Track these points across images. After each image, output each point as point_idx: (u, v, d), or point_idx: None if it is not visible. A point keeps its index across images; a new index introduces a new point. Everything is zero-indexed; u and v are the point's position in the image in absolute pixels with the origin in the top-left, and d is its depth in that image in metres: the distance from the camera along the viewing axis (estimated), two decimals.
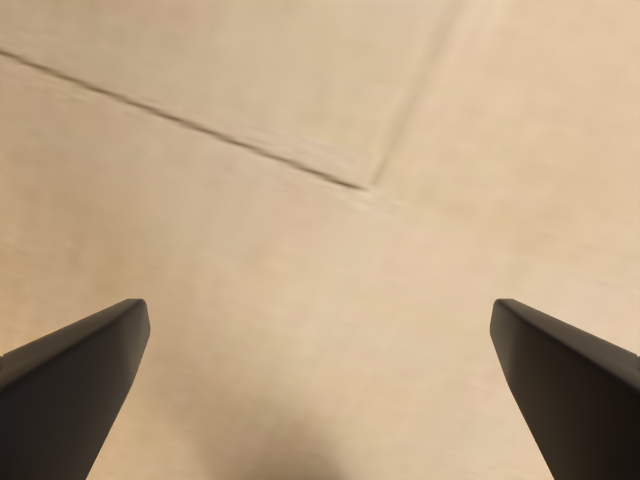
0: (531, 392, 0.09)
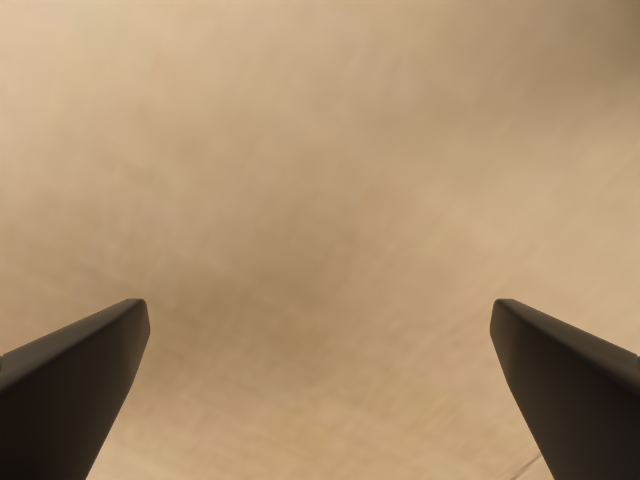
0: (531, 392, 0.09)
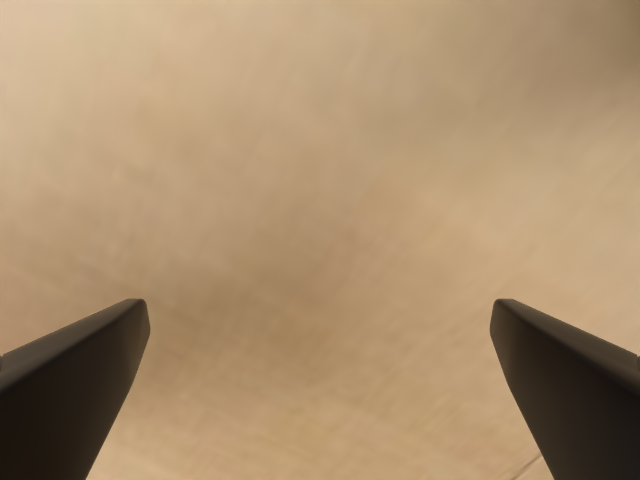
0: (531, 392, 0.09)
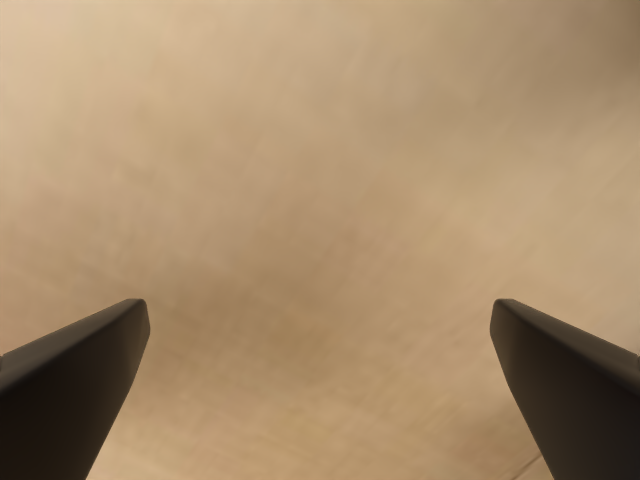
0: (531, 392, 0.09)
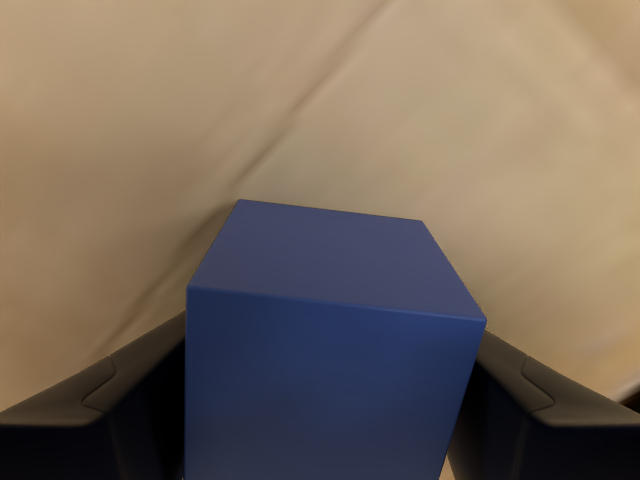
0: None
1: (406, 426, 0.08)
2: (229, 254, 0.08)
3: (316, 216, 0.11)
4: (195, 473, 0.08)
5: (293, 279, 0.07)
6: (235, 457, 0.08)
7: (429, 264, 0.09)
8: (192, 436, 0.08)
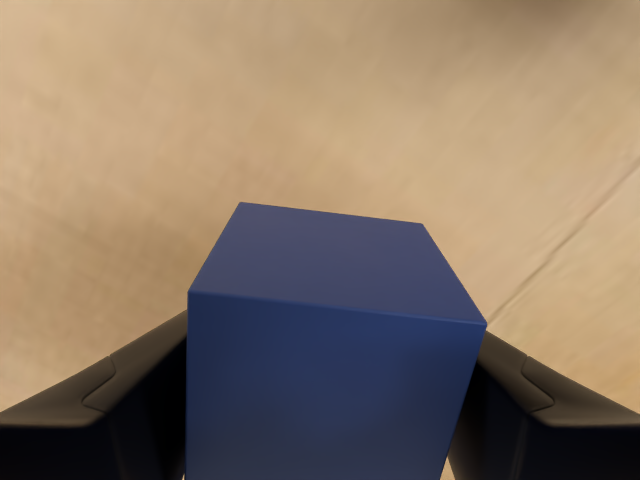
0: None
1: (406, 430, 0.08)
2: (230, 257, 0.08)
3: (316, 220, 0.11)
4: (196, 476, 0.08)
5: (294, 283, 0.07)
6: (236, 460, 0.08)
7: (430, 267, 0.09)
8: (193, 439, 0.08)
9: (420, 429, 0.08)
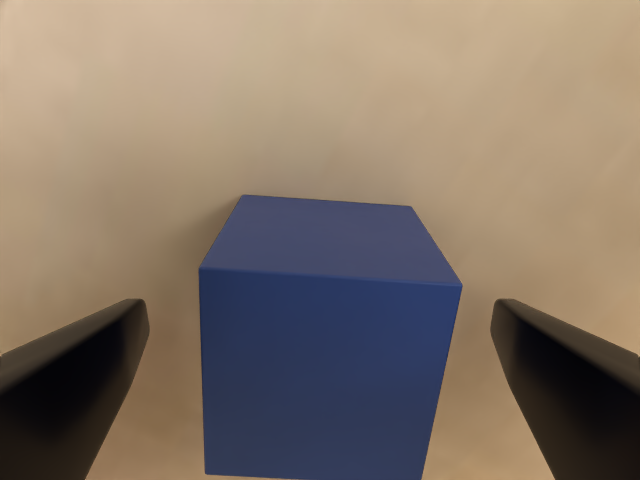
0: (532, 392, 0.09)
1: (398, 385, 0.09)
2: (234, 240, 0.09)
3: (313, 207, 0.12)
4: (214, 436, 0.09)
5: (291, 258, 0.09)
6: (249, 419, 0.09)
7: (414, 242, 0.10)
8: (210, 402, 0.09)
9: (410, 384, 0.09)
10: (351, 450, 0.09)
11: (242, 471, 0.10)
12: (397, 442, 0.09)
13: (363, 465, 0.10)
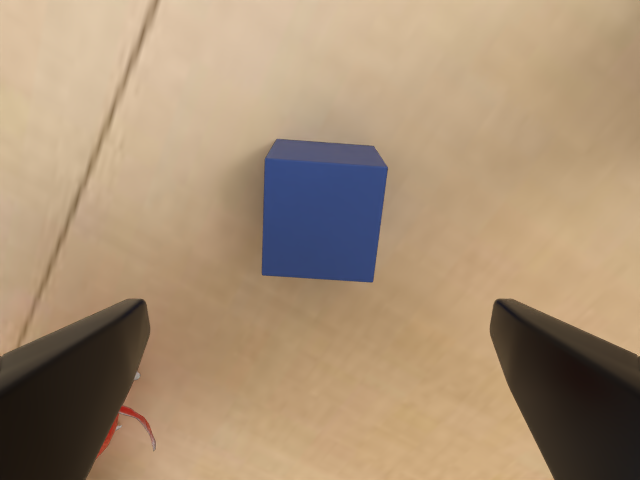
0: (531, 392, 0.09)
1: (359, 221, 0.18)
2: (278, 152, 0.18)
3: (317, 144, 0.21)
4: (268, 251, 0.18)
5: (307, 157, 0.18)
6: (285, 241, 0.18)
7: (370, 156, 0.19)
8: (266, 231, 0.18)
9: (365, 221, 0.18)
10: (337, 260, 0.19)
11: (281, 273, 0.19)
12: (360, 255, 0.19)
13: (343, 269, 0.19)
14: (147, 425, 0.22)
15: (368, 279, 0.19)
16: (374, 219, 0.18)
